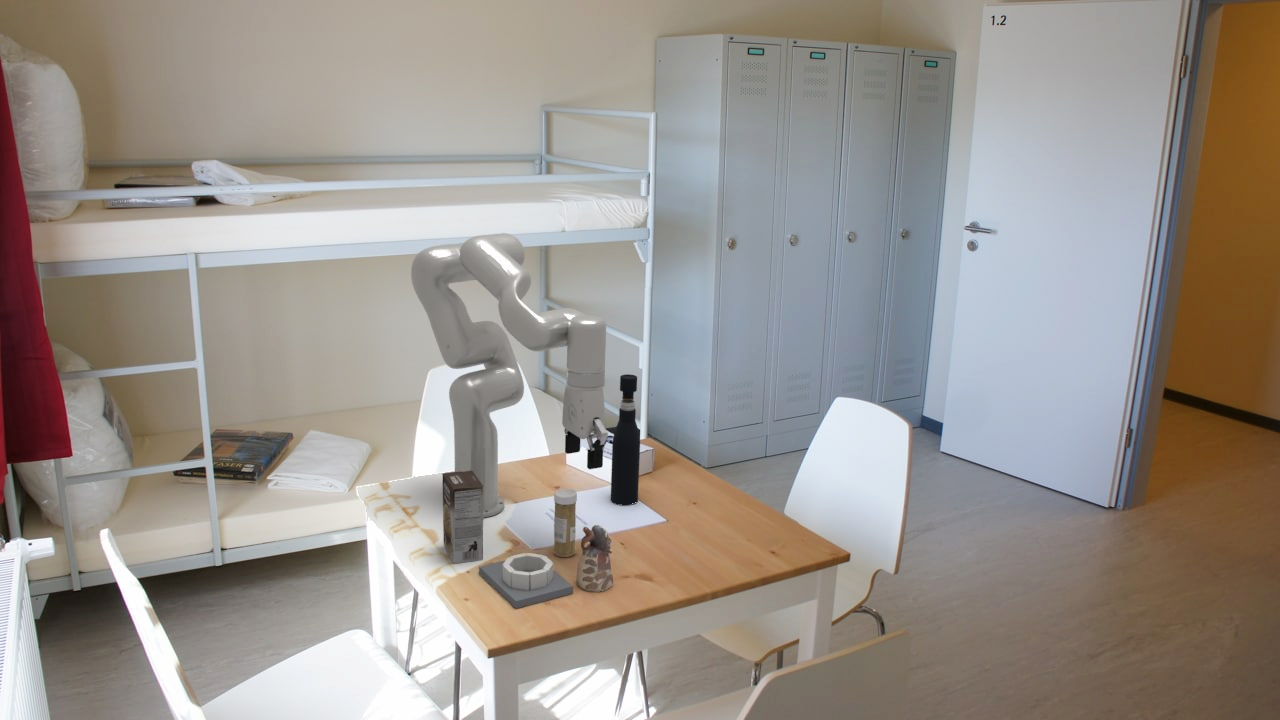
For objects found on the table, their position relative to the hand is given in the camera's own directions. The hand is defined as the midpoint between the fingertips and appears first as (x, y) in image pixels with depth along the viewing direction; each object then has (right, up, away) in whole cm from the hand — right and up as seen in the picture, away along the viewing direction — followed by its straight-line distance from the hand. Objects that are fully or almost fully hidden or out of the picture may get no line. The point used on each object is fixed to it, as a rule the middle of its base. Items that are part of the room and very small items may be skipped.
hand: (583, 460), depth 202 cm
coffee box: (-25, -19, +2) cm, 31 cm away
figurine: (+3, -23, -9) cm, 25 cm away
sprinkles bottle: (-4, -20, +4) cm, 20 cm away
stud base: (-10, -23, -11) cm, 27 cm away
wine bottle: (+8, -13, +32) cm, 36 cm away
